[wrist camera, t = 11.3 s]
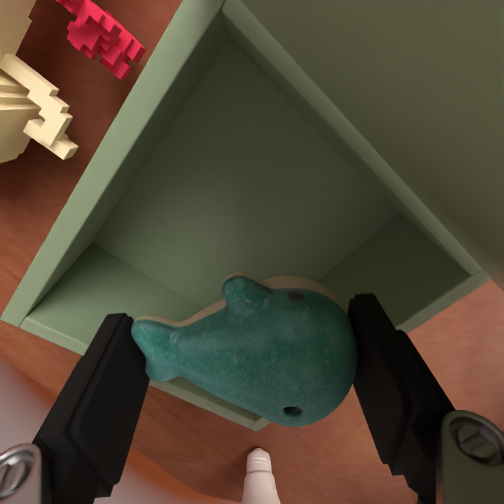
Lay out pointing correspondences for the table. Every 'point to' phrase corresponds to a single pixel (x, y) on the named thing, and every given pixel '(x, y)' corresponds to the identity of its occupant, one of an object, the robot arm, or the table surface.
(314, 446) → the table surface
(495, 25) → the lid
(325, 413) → the whale figurine
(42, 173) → the table surface
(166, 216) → the green open box
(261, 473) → the lightbulb
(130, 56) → the cream blocky long piece
